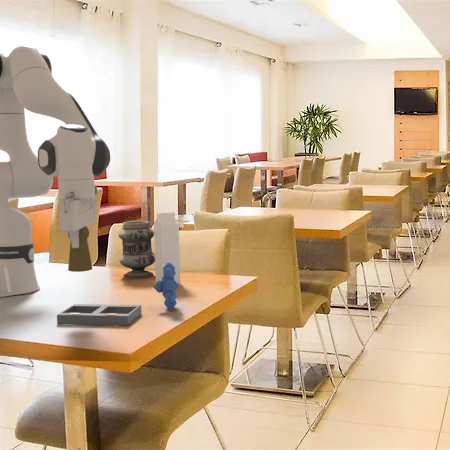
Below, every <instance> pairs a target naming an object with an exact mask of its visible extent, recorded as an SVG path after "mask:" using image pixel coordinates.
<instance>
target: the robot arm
mask: <svg viewBox="0 0 450 450" xmlns="http://www.w3.org/2000/svg"><path fill="white" fill-rule="evenodd" d="M52 71H53V69H52V63H51V60H50V58H49V56H48V55H47V54H46V53H44V52H40V51H39V50H38V49H37V48H35V47H33V46H32V45H31V46H30V45H20V46H17V47H15V48H12V49H0V151H3V152H4V153H6V154H7V155H8V157H9V161H0V298H4V297H10V296H15V295H17V296H18V295H23V294H30V293H33V292H37V291H39V290H40V286H39V282H38V279H37V275H36V274H37V273H36V270H35V263H34V262H35V249H34V248H35V247H34V243H33V242H32V239H33V238H32V224H31V222H32V221H31V219H30V217H29V215H27V214H26V213H25V212H23V211H21V210H19V209H16V208H14V207H11V205H10V203H9V200H11V199H23V198H24V199H25V198H26V199H27V198H34V197H39V196H42V195H47V194H48V193H49V191H50V190H51V189H52V186H53V183H54V177H57V187H58V191H57V192H58V193H57V194H58V198H59V199H61V201H60V204H59V214H58V215H59V216H58V217H59V230H60V232H61V233H67V234H68V233H69V235H70V238H69V240H70V241H71V244H72V248H78V247H80V240H79V230H80V229H82V228H84V227H85V226H86V227H87V228H88V226H90V225H92V224H94V223H95V219H96V196H97V195H98V187H97V185H95V177H98V176H100V175H102V174H103V173H104V172H105V171H106V170H107V169H108V167H109V166H110V162H111V152H110V149H109V146H108V145H107V144H106V142H105V141H104V140H103V138H102V137H101V136H100V135H99V134H98V132H97V131H96V129H95V128H94V126H93V124H92V123H91V122H90V120H89V119H88V116H87V115H86V113H85V112H84V109H82V107H81V105H80V104H79V103H78V101H77V99H76V98H75V97H74V96H73V95H72V94H70V93H69V92H67V91H66V90H65V89H64V88H63V87H61V85H60V84H58V81H57V80H55V78H54V77H53V75H52ZM25 110H27V111H28V112H31V113H33V114H38V115H42V116H46V117H50V118H53V119H57V120H59V121H61V122H63V123H65V124H62V125H59V127H57V129H56V130H57V131H56V134H55V135H54V136H53V137H51V138H50V139H45V140H44V141H43V142H42V143H41V144H40V145H39V147H38V149H37V155H36V154H35V153H34V151H33V149H32V148H31V146H30V143H29V141H28V140H29V139H28V135H27V128H26V117H25Z"/></svg>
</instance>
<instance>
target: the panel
mask: <svg viewBox="0 0 450 450" xmlns="http://www.w3.org/2000/svg"><path fill="white" fill-rule="evenodd" d="M142 313H143V312H142V304H99V303H97V304H96V303H94V304H93V303H92V304H91V303H88V304H87V303H84V304H83V303H74V304H72V305H70V306H69V307H67V308H66V309H64V310H62V311H60V312H59V313H57V314H56V324H57V325H62V324H77V325H76V326H80V325H81V326H115V325H118V326H119V327H120V326H121V327H122V326H123V327H125V326H126V327H128V326H129V325H131V324H132V323H133V322H134V321H135V320H137V319H138V318H139V317H141V315H142Z"/></svg>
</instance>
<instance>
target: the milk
mask: <svg viewBox="0 0 450 450" xmlns="http://www.w3.org/2000/svg"><path fill="white" fill-rule="evenodd" d="M179 225H180V224H179V222H178V220H177V218H176V214H175V212H163V213H156V219H155V221H154V222H153V230H154V236H153V239H154V240H153V241H154V243H153V244H154V254H155V262H154V268H155V270H154V271H155V273H154V274H155V283H156V282H157V281H162V277H163V276H164V275H163V271H164V270H163V268H164V266H165V265H166V264H167V263H171V264H172V265H173V266H174V267H175V268H176V269H175V270H174V271H175V273H176V274H175V276H174V280H175V281H176V283H177V284H178V285H180V284H181V259H180V255H181V254H180V227H179Z"/></svg>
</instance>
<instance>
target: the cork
mask: <svg viewBox="0 0 450 450" xmlns="http://www.w3.org/2000/svg"><path fill="white" fill-rule="evenodd" d="M67 236H68V238H69V239H70V235H69V233H67ZM89 236H90V230H89V228H88V226H87V227H86V226H85V227H84V228H82V229H80V230H79V240H80V247H78V248H72V244H71V240H70V243H69V255H68V269H67V270H68V271H69V272H75V273H77V272H78V273H80V272H89V271H91V270H93V264H92V259H91V253H90V248H89V242H88V239H89Z"/></svg>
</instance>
